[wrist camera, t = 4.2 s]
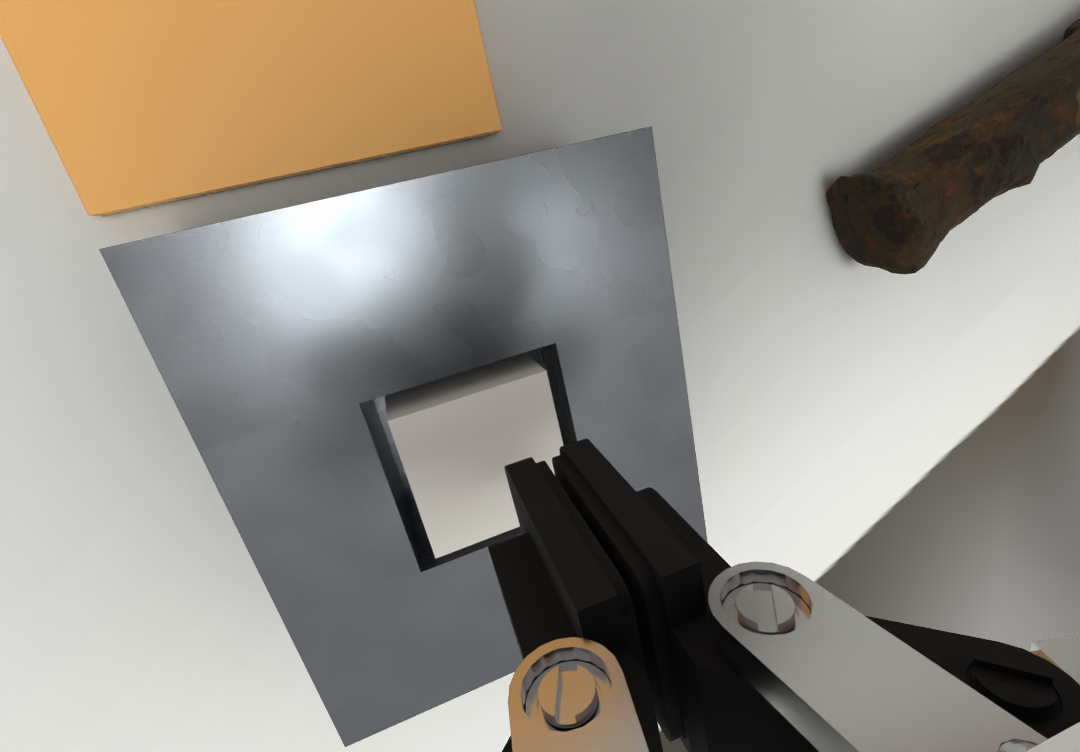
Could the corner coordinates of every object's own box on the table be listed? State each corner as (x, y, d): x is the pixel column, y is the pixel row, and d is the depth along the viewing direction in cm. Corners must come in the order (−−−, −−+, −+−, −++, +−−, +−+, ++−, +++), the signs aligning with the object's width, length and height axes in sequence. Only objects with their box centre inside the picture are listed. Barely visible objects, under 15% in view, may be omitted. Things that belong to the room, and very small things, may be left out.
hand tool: (835, 273, 22) (947, 287, 18) (810, 183, 21) (926, 175, 17) (1150, 59, 25) (1314, 27, 20) (1149, -37, 23) (1327, -93, 19)
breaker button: (506, 338, 17) (546, 370, 13) (534, 447, 18) (577, 504, 15) (382, 375, 16) (387, 421, 12) (420, 487, 18) (435, 558, 14)
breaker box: (576, 150, 18) (651, 126, 13) (640, 508, 22) (712, 582, 18) (180, 240, 15) (99, 248, 10) (349, 623, 20) (345, 746, 15)
